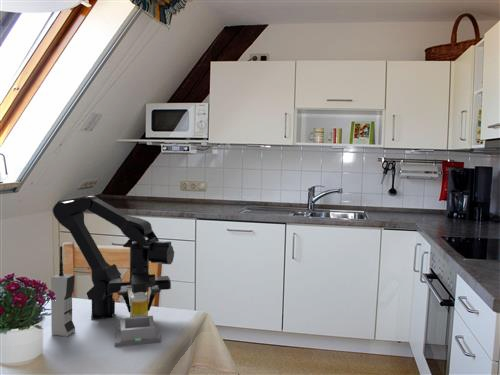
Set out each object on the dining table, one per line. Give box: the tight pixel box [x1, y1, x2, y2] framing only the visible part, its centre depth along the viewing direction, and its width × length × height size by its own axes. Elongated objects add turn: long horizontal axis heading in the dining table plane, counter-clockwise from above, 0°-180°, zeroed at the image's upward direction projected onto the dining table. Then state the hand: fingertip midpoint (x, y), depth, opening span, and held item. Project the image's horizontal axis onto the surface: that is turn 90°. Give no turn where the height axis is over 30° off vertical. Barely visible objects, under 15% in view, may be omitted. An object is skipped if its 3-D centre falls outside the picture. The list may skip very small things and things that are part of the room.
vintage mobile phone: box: [50, 246, 76, 337], centre depth 121 cm, size 4×5×25 cm
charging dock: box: [114, 315, 162, 348], centre depth 121 cm, size 12×10×4 cm
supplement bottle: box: [129, 292, 149, 318], centre depth 134 cm, size 5×5×10 cm
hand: (139, 311), depth 134 cm, fingers closed on supplement bottle, 5 cm apart
